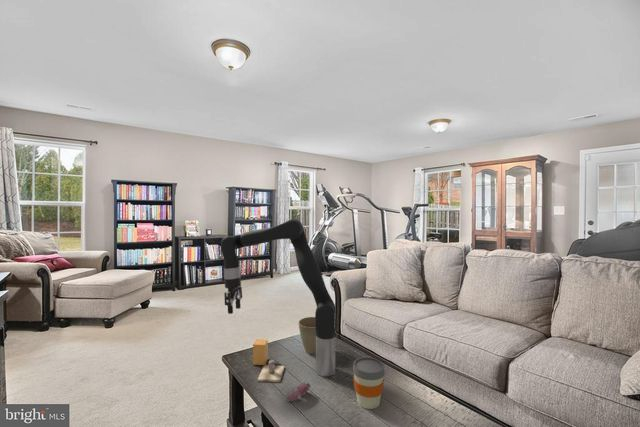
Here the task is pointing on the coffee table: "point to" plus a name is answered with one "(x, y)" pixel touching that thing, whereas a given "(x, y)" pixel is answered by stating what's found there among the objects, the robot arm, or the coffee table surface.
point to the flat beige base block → (271, 373)
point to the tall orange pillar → (260, 352)
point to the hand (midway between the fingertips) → (234, 310)
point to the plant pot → (308, 334)
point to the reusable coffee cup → (368, 381)
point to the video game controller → (299, 391)
